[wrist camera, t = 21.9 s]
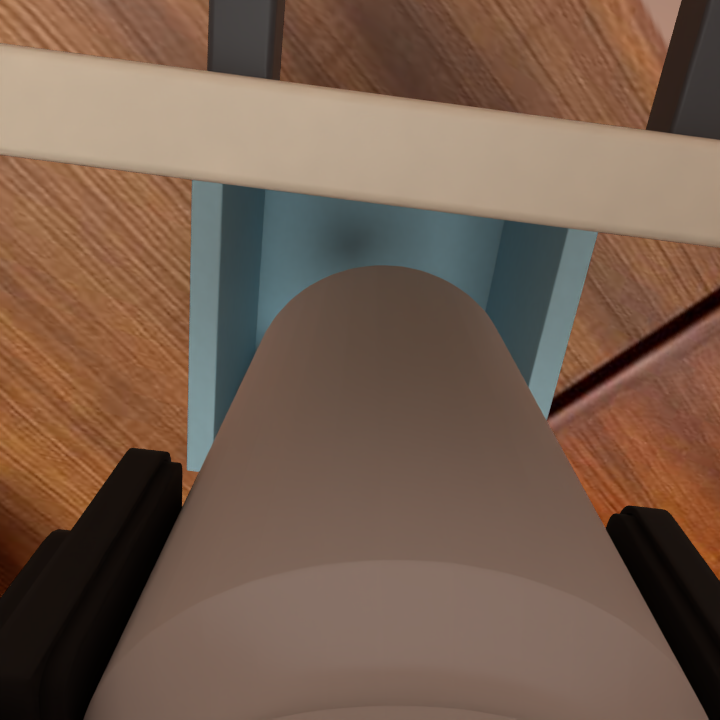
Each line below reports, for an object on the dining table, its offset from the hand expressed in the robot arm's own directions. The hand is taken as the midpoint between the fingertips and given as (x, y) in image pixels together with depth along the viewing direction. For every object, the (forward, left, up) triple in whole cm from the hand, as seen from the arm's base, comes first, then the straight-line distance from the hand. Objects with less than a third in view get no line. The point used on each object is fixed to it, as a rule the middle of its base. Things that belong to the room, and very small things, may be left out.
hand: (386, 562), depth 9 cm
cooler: (0, 0, -19) cm, 19 cm away
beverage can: (0, 0, -7) cm, 7 cm away
